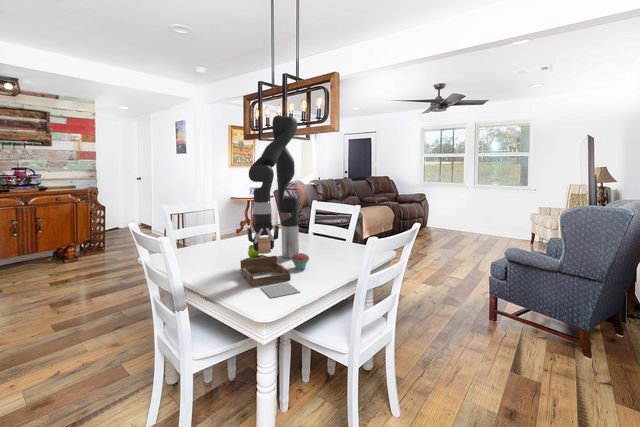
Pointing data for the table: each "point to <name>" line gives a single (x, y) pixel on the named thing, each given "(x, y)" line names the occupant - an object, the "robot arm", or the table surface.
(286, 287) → the gray square base plate
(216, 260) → the table surface
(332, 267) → the table surface
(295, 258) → the cupcake
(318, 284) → the table surface
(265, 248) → the peach round knob
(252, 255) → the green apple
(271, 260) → the frame
